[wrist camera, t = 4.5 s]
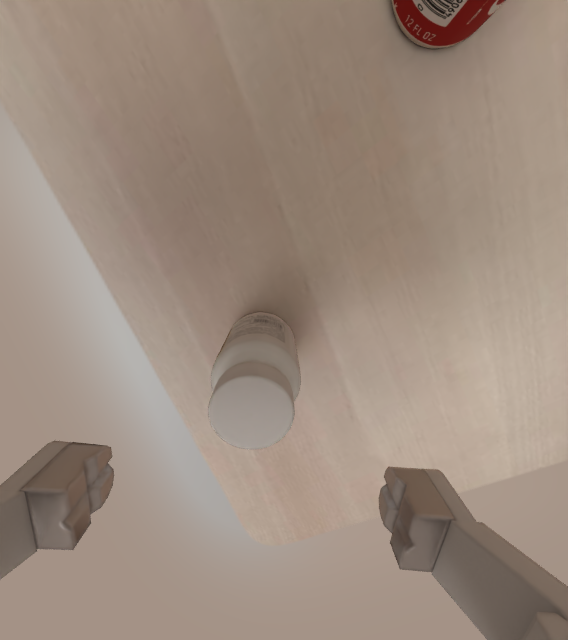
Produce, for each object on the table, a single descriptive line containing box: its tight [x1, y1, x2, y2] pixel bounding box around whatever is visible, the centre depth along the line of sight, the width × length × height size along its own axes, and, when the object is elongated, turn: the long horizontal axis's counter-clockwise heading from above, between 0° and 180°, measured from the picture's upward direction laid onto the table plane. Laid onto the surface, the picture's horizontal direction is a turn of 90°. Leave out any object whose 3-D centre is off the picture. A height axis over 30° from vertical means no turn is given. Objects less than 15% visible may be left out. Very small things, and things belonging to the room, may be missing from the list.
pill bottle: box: [208, 312, 301, 449], centre depth 15 cm, size 4×4×8 cm
